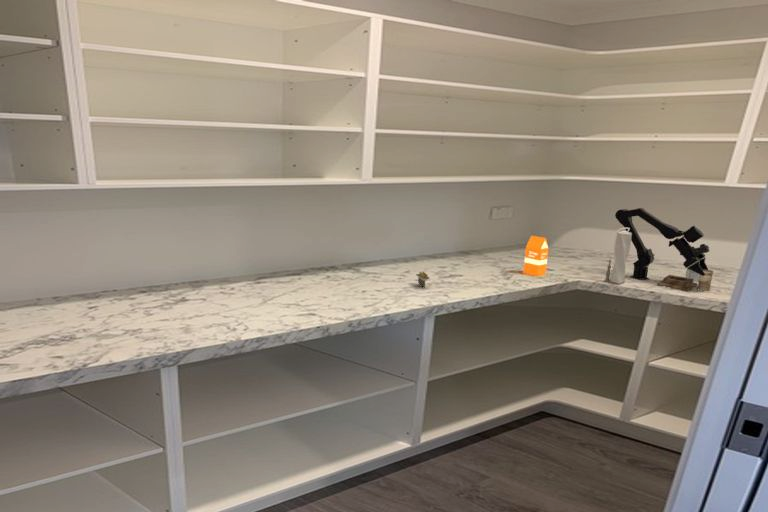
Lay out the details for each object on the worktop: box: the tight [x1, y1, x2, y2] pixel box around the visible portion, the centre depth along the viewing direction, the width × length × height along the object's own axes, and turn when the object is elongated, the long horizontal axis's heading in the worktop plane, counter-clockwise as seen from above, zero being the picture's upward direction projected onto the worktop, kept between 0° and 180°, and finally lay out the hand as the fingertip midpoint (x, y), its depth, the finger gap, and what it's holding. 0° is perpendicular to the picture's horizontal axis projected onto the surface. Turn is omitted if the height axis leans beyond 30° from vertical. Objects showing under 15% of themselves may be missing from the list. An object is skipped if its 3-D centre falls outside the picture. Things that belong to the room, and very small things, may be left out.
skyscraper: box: [604, 227, 632, 285], centre depth 250 cm, size 8×8×28 cm
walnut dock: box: [656, 274, 699, 292], centre depth 252 cm, size 14×18×4 cm
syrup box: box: [685, 256, 706, 282], centre depth 263 cm, size 6×6×14 cm
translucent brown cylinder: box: [697, 269, 714, 292], centre depth 243 cm, size 5×5×10 cm
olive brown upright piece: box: [415, 271, 431, 289], centre depth 231 cm, size 12×18×7 cm, turn 17°
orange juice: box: [523, 235, 549, 277], centre depth 262 cm, size 8×9×20 cm
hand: (706, 274), depth 243 cm, fingers open, 9 cm apart
